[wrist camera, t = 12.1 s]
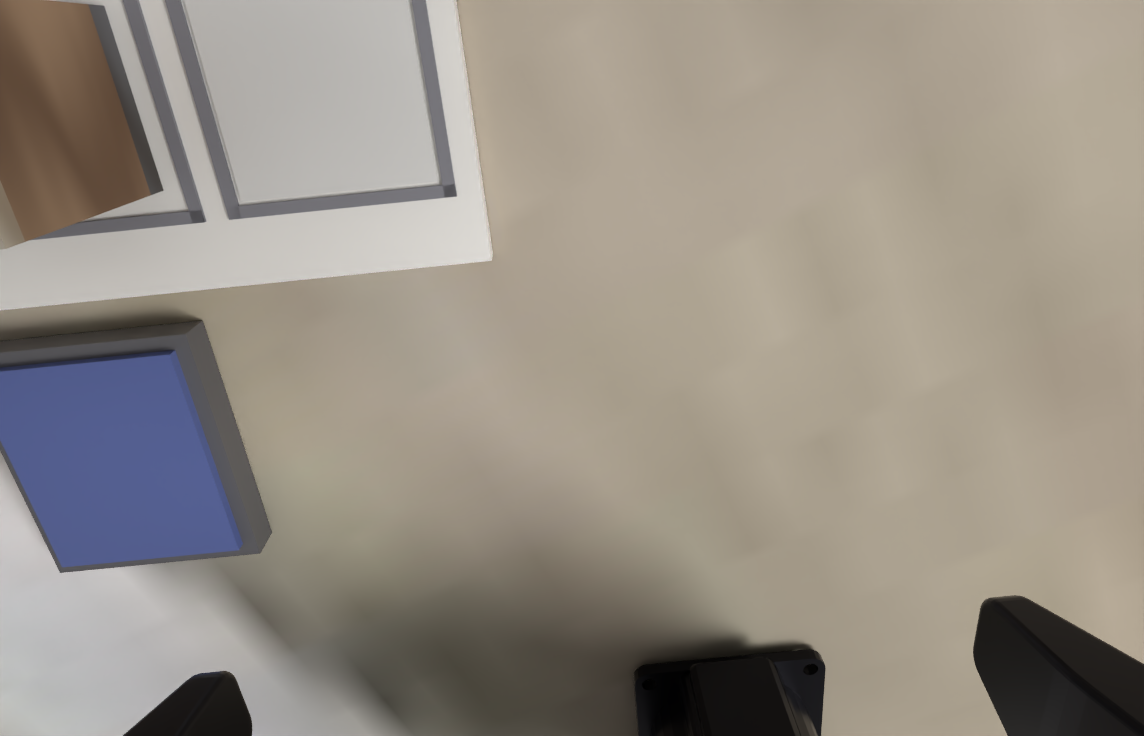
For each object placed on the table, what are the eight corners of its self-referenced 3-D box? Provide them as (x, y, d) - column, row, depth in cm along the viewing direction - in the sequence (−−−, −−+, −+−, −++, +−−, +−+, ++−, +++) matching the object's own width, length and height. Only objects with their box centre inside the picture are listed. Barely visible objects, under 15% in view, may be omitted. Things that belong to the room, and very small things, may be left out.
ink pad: (271, 532, 22) (256, 559, 21) (80, 551, 22) (53, 579, 21) (202, 320, 19) (179, 338, 18) (-18, 342, 19) (-55, 362, 18)
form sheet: (492, 254, 19) (490, 262, 18) (3, 303, 19) (-16, 313, 18) (432, -162, 15) (427, -171, 14) (-174, -96, 15) (-205, -102, 15)
